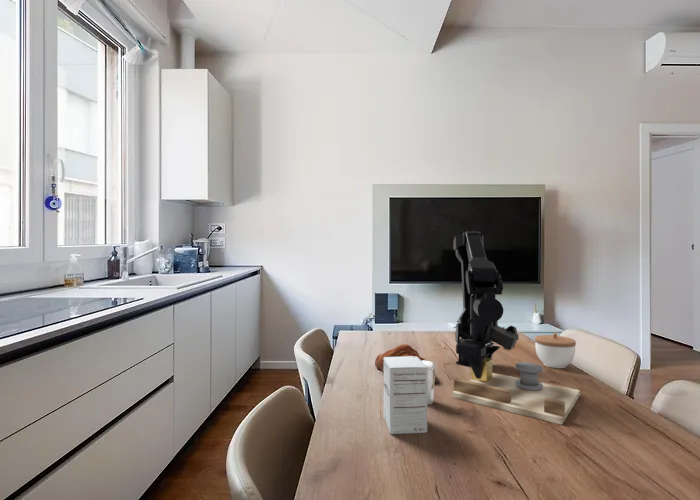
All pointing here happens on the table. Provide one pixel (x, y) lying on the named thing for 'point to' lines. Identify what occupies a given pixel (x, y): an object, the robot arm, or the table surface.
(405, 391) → the supplement box
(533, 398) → the board
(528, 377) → the grey rounded knob
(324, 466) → the table surface
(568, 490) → the table surface
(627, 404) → the table surface
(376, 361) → the pastry
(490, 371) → the tab
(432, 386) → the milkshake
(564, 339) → the lidded jar
